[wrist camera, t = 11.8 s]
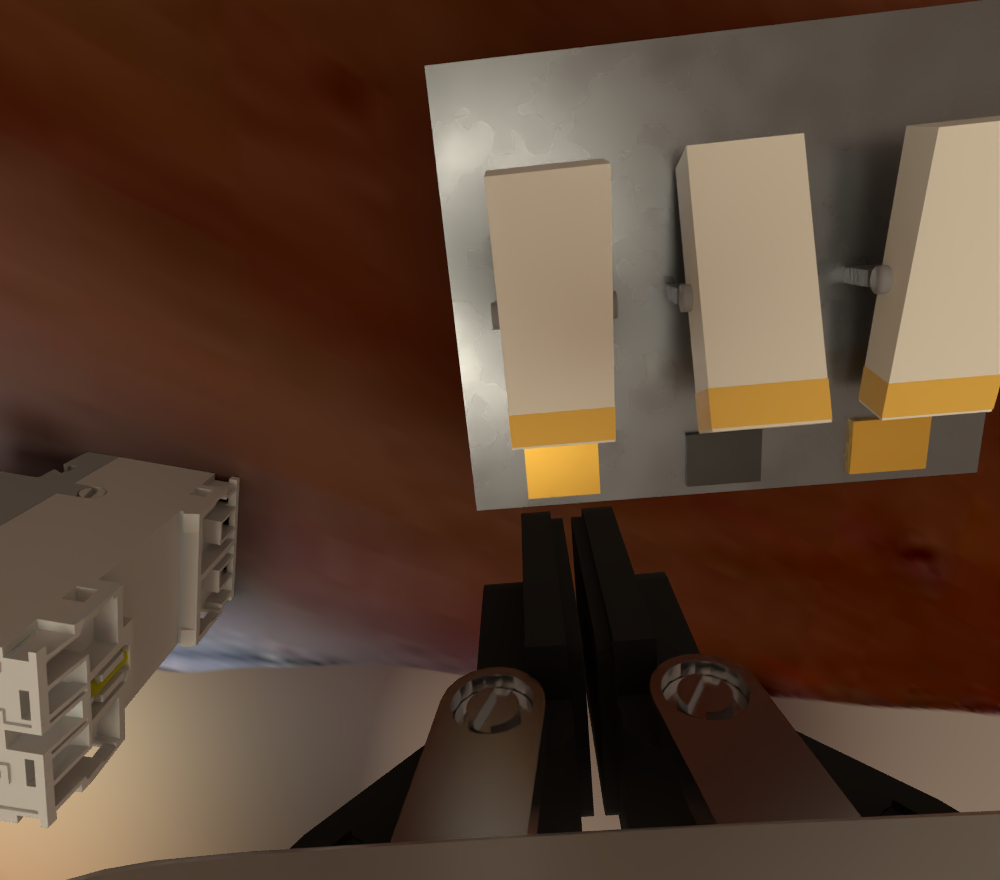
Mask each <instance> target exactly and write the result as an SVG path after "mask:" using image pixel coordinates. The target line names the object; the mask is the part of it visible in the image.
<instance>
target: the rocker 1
mask: <svg viewBox="0 0 1000 880" xmlns="http://www.w3.org/2000/svg"><path fill="white" fill-rule="evenodd" d="M484 181H485V191H486V200H487V210H488V219H489V229H490V239H491V248H492V258H493V267H494V277H495V287H496V296H497V302H493V303H491V316H492V325H493V330H497V329H500V335H501V344H502V354H503V363H504V373H505V383H506V392H507V402H508V417H509V426H510V436H511V445H512V450H519V449H532V448H544V447H556V446H568V445H580V444H593V443H605V442H615V440H616V422H615V397H614V334H613V319H616V318H617V317H618V301H617V294H616V291H613V271H612V208H611V163H610V162H608V161H607V160H605V159H604V158H599V159H590V160H581V161H571V162H562V163H553V164H543V165H534V166H525V167H515V168H506V169H497V170H487V171H486V172H485V175H484Z"/></svg>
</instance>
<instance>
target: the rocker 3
mask: <svg viewBox="0 0 1000 880" xmlns="http://www.w3.org/2000/svg"><path fill="white" fill-rule="evenodd" d="M870 286H871V289H872V291H873V293H874V294H877V298H876V304H875V310H874V315H873V321H872V327H871V332H870V338H869V344H868V350H867V355H866V361H865V366H864V368H863V374H862V380H861V385H860V391H859V397H858V399H859V402H860V403H862V404H863V405H864V406H865V407H866V408H868V409H869V410H870V411H871V412H872V413H874V414H875V415H876V416H877V417H878V418H879V419H881V420H893V419H905V418H917V417H929V416H942V415H954V414H966V413H978V412H990V411H992V409H993V408H994V405H995V401H996V398H997V394H998V391H999V387H1000V116H992V117H983V118H973V119H964V120H954V121H945V122H936V123H926V124H917V125H908V126H906V131H905V137H904V143H903V149H902V154H901V160H900V166H899V172H898V177H897V183H896V189H895V195H894V200H893V206H892V212H891V218H890V223H889V229H888V235H887V241H886V246H885V252H884V258H883V264H882V266H876V267H875V268H874V269H873V270H872V273H871V277H870Z"/></svg>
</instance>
